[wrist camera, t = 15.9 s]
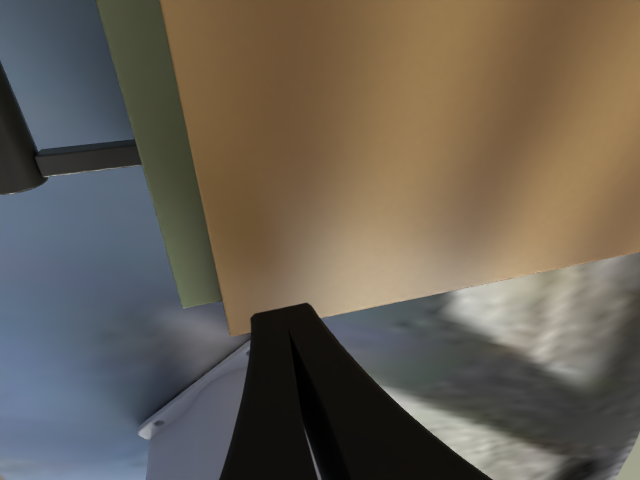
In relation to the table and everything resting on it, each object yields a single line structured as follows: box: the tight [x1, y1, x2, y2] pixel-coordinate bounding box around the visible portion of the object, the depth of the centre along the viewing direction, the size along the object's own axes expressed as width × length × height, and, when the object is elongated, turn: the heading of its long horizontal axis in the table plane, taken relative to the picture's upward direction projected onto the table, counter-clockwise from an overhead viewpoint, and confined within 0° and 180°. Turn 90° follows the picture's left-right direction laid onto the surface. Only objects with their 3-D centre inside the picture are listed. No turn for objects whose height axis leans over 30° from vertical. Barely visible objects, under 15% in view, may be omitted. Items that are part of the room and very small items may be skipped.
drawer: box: [0, 0, 222, 308], centre depth 12 cm, size 19×12×6 cm, turn 91°
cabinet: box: [159, 0, 640, 336], centre depth 13 cm, size 16×14×8 cm
